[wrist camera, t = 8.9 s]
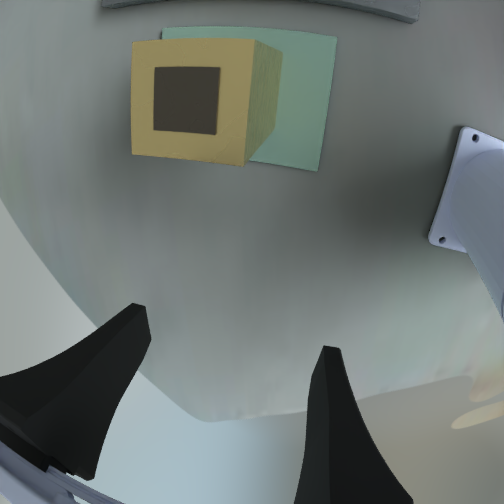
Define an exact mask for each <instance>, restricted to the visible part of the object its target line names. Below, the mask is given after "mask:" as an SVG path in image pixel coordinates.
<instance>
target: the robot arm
mask: <svg viewBox="0 0 504 504" xmlns="http://www.w3.org/2000/svg"><path fill="white" fill-rule="evenodd" d="M474 134H476V140H475V141H473V140H472V136H473V135H474ZM441 237H444V239H443V240H442V241H439V239H440V238H441ZM428 239H429V242H430V243H431V244H433V245H436V246H440V247H444V248H448V249H452V250H456V251H460V252H464V253H468V255H469V257H470V259H471V260H472V262H473V264H474V266H475V267H476V269H477V271H478V273H479V274H480V276H481V278H482V280H483V282H484V284H485V286H486V287H487V289H488V291H489V293H490V295H491V297H492V299H493V301H494V303H495V305H496V307H497V309H498V311H499V314H500V316H501V318H502V320H503V322H504V141H501V140H499V139H497V138H495V137H492V136H490V135H488V134H485V133H483V132H480V131H478V130H476V129H473V128H470V127H467V126H465V127H463V128H462V129H461V130H460V133H459V138H458V142H457V146H456V150H455V153H454V157H453V161H452V164H451V168H450V171H449V175H448V178H447V181H446V185H445V188H444V191H443V194H442V197H441V200H440V203H439V206H438V209H437V212H436V215H435V218H434V221H433V223H432V226H431V229H430V232H429V234H428ZM150 342H151V334H150V329H149V324H148V319H147V313H146V307H145V306H142V305H139V304H135V303H132V304H130V305H129V306H127V307H126V308H125V309H123V310H122V311H121V312H120V313H118V314H117V315H116V316H114V317H113V318H112V319H110V320H109V321H108V322H106V323H105V324H104V325H102V326H101V327H100V328H98V329H97V330H96V331H94V332H93V333H92V334H90V335H89V336H87V337H86V338H84V339H83V340H81V341H80V342H78V343H77V344H75V345H74V346H72V347H70V348H69V349H67V350H66V351H64V352H62V353H60V354H58V355H56V356H55V357H53V358H51V359H48V360H46V361H44V362H42V363H40V364H38V365H35V366H33V367H30V368H28V369H25V370H22V371H20V372H16V373H13V374H9V375H6V376H2V377H0V494H1V495H3V496H4V497H5V498H6V499H7V500H8V501H9V502H10V503H11V504H79V503H78V502H76V501H75V500H74V496H73V494H74V495H75V496H77V497H79V498H81V499H83V500H85V501H87V502H89V503H91V504H124V503H122V502H119V501H117V500H115V499H113V498H110V497H108V496H106V495H104V494H102V493H100V492H98V491H96V490H94V489H91V488H90V487H88V486H86V485H84V484H82V483H80V482H78V481H77V480H75V479H73V478H71V477H69V476H68V475H66V473H69V474H71V475H73V476H74V475H77V476H79V477H81V478H83V479H84V480H86V481H89V480H92V479H94V477H95V472H96V468H97V464H98V460H99V456H100V453H101V450H102V446H103V443H104V440H105V437H106V434H107V431H108V429H109V426H110V423H111V420H112V418H113V416H114V413H115V410H116V408H117V406H118V404H119V402H120V400H121V398H122V396H123V394H124V393H125V391H126V389H127V387H128V386H129V384H130V382H131V380H132V379H133V377H134V375H135V373H136V371H137V370H138V368H139V366H140V364H141V363H142V361H143V359H144V356H145V354H146V352H147V349H148V347H149V344H150ZM294 504H413V499H412V498H411V496H410V495H409V494H408V493H407V492H406V490H405V489H404V488H403V487H402V485H401V484H400V483H399V482H398V480H397V479H396V477H395V476H394V475H393V473H392V472H391V470H390V468H389V467H388V466H387V464H386V462H385V460H384V459H383V457H382V456H381V454H380V452H379V451H378V449H377V447H376V445H375V443H374V441H373V440H372V438H371V436H370V433H369V432H368V430H367V427H366V425H365V423H364V421H363V418H362V416H361V413H360V411H359V408H358V406H357V403H356V401H355V398H354V395H353V392H352V389H351V386H350V383H349V380H348V376H347V373H346V370H345V366H344V362H343V358H342V354H341V350H340V349H339V348H336V347H330V346H323V348H322V351H321V354H320V356H319V359H318V361H317V364H316V366H315V369H314V371H313V374H312V377H311V383H310V389H309V396H308V407H307V426H306V441H305V452H304V459H303V464H302V469H301V474H300V479H299V484H298V488H297V493H296V497H295V501H294Z"/></svg>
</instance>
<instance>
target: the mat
mask: <svg viewBox="0 0 504 504" xmlns="http://www.w3.org/2000/svg"><path fill="white" fill-rule="evenodd" d="M178 38H239V39H255V40H258V41H260V42H262V43H264V44H266V45H268V46H271V47H273V48H275V49H277V50H279V51H281V52H283V60H282V69H281V78H280V87H279V96H278V105H277V114H276V122H275V129H274V130H273V132H272V133H271V134H270V135H269V136H268V138H267V139H266V140H265V141H264V142H263V143H262V145H261V146H260V147H259V148H258V149H257V151H256V152H255V153H254V154H253V156H252V157H251V158H250V159H249V160H250V161H257V162H263V163H270V164H276V165H282V166H288V167H294V168H300V169H305V170H311V171H316V172H317V171H318V166H319V160H320V154H321V148H322V142H323V136H324V130H325V123H326V117H327V110H328V104H329V97H330V90H331V83H332V76H333V68H334V61H335V53H336V45H337V37H333V36H327V35H321V34H315V33H308V32H300V31H292V30H282V29H271V28H258V27H236V26H197V27H175V28H163V29H162V39H178Z"/></svg>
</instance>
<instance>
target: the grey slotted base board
mask: <svg viewBox="0 0 504 504" xmlns="http://www.w3.org/2000/svg"><path fill="white" fill-rule="evenodd" d="M158 1H166V0H102V4H101V7H107V8H120V7H125V6H131V5H137V4H143V3H150V2H158ZM299 1H308V2H315V3H322V4H329V5H335V6H340V7H346V8H351V9H356V10H361V11H365V12H370V13H374V14H378V15H382V16H386V17H389V18H393V19H397V20H400V21H404V22H407V23H410V24H412V23H414V22H416V21H418V20H419V9H420V0H299Z"/></svg>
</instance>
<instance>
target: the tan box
mask: <svg viewBox="0 0 504 504" xmlns="http://www.w3.org/2000/svg"><path fill="white" fill-rule="evenodd" d="M282 60H283V52H281V51H279V50H277V49H275V48H273V47H271V46H268V45H266V44H264V43H262V42H260V41H258V40H255V39H239V38H178V39H161V40H148V41H138V42H132V63H131V143H132V154H133V155H145V156H156V157H167V158H177V159H186V160H195V161H204V162H212V163H220V164H227V165H234V166H241V167H244V165H245V164H246V163H247V162H248V160H249V159H250V158H251V157H252V156H253V154H254V153H255V152H256V151H257V149H258V148H259V147H260V146H261V145H262V143H263V142H264V141H265V140H266V139H267V138H268V136H269V135H270V134H271V133H272V132H273V130H274V129H275V122H276V114H277V105H278V96H279V87H280V78H281V69H282Z"/></svg>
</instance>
